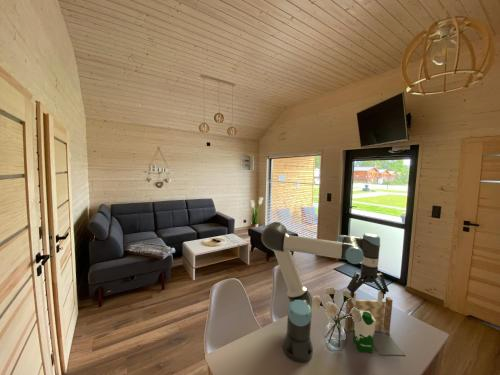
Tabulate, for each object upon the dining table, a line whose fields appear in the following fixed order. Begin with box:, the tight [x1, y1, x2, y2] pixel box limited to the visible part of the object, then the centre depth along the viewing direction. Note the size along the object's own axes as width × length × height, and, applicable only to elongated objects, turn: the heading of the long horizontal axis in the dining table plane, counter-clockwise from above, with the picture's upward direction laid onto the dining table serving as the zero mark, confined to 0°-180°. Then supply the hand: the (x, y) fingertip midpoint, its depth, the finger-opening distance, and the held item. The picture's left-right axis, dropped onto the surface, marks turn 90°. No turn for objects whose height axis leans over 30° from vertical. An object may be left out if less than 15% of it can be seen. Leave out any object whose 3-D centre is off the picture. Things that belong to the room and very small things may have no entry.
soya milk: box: [352, 310, 376, 354], centre depth 112 cm, size 9×9×20 cm
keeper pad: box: [373, 333, 406, 357], centre depth 115 cm, size 13×13×1 cm
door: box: [351, 299, 386, 332], centre depth 123 cm, size 18×3×18 cm, turn 90°
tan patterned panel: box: [344, 296, 393, 334], centre depth 124 cm, size 24×4×20 cm, turn 90°
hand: (366, 303), depth 111 cm, fingers open, 13 cm apart
